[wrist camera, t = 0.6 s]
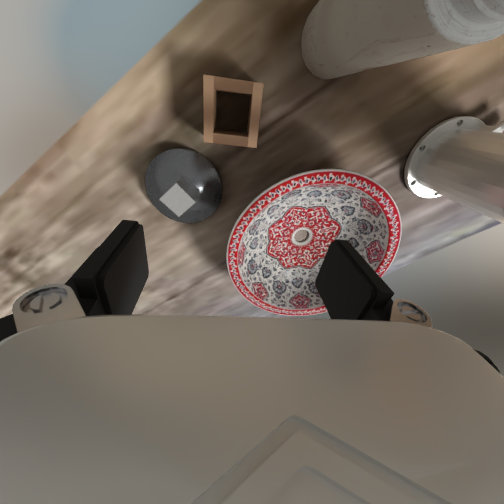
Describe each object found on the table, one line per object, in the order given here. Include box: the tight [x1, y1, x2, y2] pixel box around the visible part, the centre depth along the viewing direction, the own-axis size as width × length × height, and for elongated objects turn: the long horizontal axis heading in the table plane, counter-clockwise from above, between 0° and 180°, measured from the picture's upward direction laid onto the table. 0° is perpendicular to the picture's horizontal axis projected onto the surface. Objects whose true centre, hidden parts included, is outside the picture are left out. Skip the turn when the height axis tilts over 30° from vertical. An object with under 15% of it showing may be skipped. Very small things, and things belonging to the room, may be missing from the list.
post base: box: [145, 147, 222, 223], centre depth 34 cm, size 12×12×6 cm
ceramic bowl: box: [226, 169, 402, 316], centre depth 41 cm, size 29×29×8 cm
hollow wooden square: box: [203, 74, 264, 148], centre depth 30 cm, size 7×7×5 cm
